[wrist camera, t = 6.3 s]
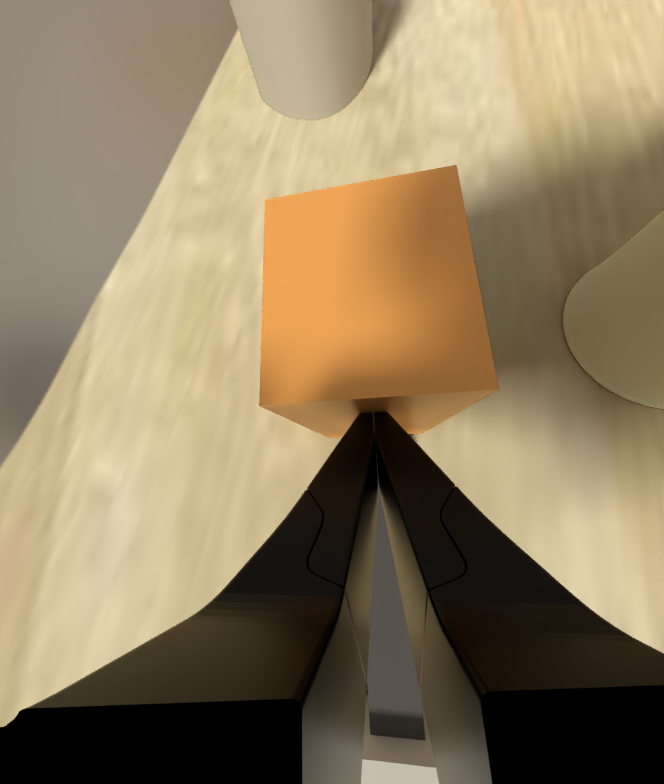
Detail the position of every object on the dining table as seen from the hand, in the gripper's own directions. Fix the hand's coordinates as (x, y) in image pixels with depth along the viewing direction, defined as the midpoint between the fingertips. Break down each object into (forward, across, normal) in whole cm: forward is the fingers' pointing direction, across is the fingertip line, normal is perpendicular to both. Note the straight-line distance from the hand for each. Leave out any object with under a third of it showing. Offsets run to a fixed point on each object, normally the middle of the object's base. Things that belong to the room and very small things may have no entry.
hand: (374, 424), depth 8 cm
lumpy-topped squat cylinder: (+29, +3, -17) cm, 34 cm away
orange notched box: (+8, 0, +3) cm, 9 cm away
